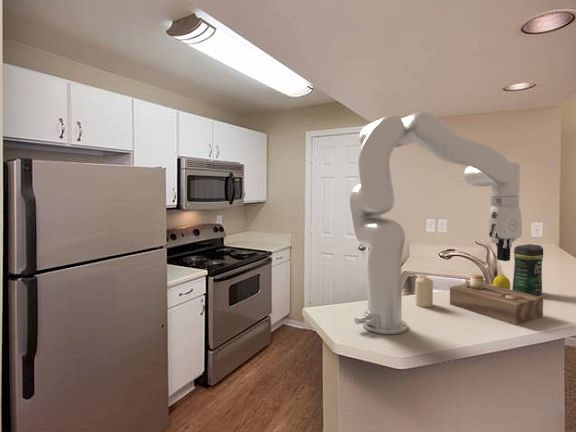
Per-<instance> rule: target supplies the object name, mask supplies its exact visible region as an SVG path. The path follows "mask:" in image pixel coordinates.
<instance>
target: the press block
mask: <svg viewBox="0 0 576 432" xmlns="http://www.w3.org/2000/svg"><path fill="white" fill-rule="evenodd" d="M506 295H515V296H519V297H520V298H521V299H519V300H514V299H510V298H506V297H505V296H506ZM449 305H451V306H454V307H457V308H460V307H461V308H460V309H463V308H464V309H463V310H466V309H467V310H466V311H469V310H470V311H469V312H473V313H476V314H479V315H481V316H486V317H488V318H491V319H495V320H498V321H501V322H504V323H506V324H507V323H508V324H510V325H514V326H517V325H520V324H525V323H527V322H531V321H533V320H536V319H537V320H538V319H539V318H542V317H544V297H542V296H539V295H531V294H527V293H522V292H518V291H514V290H512V289H510V290H509V289H505V288H501V287H497V286H493V284H492V285H491V284H487V283H483V290H475V289H471V288H470V282H469V283H463V284H459V285H453V286H449Z"/></svg>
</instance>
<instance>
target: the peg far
mask: <svg viewBox="0 0 576 432" xmlns="http://www.w3.org/2000/svg"><path fill="white" fill-rule="evenodd" d="M469 279H470V280H469V283H470V288H471V289H475V290H483V283H484V275H480V274H471V275H470V276H469ZM484 284H485V283H484Z"/></svg>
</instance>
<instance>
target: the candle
mask: <svg viewBox="0 0 576 432" xmlns="http://www.w3.org/2000/svg"><path fill="white" fill-rule="evenodd" d="M433 287H434V281H433V280H432V279H431V278H430V277H429V276H427V275H420V276H418V277H417V278H416V279H415V305H416V306H417V307H421V308H431V307H433V302H434V299H433V297H434V295H433V289H434V288H433Z"/></svg>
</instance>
